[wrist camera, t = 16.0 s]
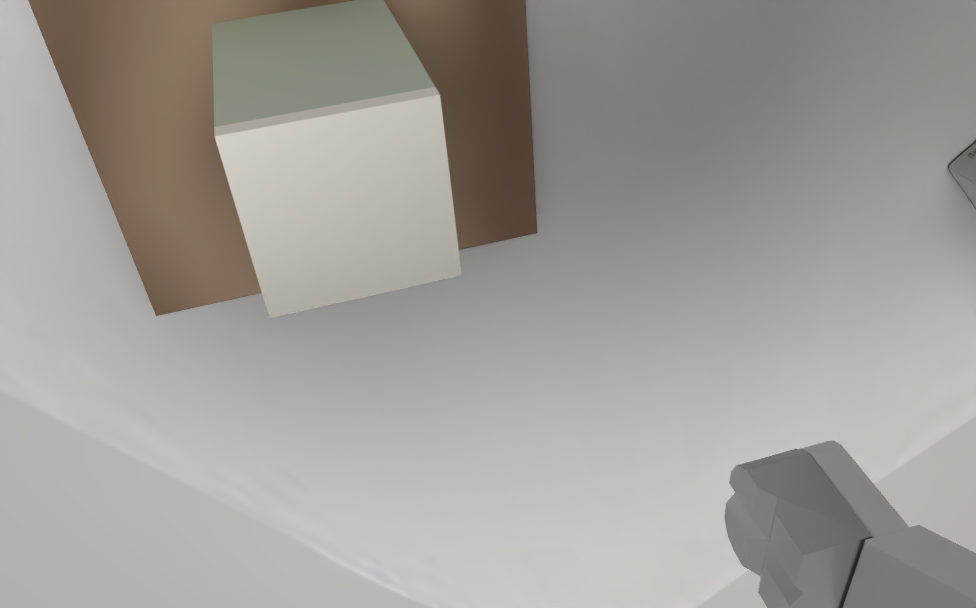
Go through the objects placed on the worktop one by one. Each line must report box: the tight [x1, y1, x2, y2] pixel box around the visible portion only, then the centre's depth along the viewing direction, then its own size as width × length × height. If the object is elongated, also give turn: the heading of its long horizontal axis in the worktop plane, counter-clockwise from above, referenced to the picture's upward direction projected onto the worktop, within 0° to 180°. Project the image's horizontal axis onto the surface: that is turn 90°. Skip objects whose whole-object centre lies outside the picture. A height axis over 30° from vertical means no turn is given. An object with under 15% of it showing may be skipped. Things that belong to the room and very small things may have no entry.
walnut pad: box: [28, 0, 537, 316], centre depth 26 cm, size 14×14×1 cm
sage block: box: [212, 0, 462, 318], centre depth 23 cm, size 5×5×8 cm
